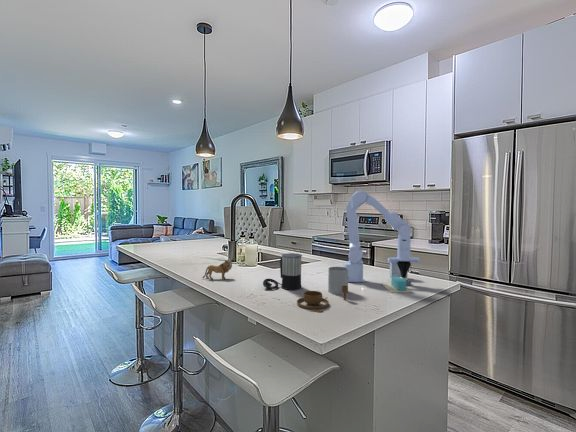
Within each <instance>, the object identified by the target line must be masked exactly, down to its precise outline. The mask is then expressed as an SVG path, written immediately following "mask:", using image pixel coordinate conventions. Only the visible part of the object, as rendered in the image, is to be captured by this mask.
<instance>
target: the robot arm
mask: <svg viewBox="0 0 576 432" xmlns="http://www.w3.org/2000/svg"><path fill="white" fill-rule="evenodd" d="M364 204H365V205H368V206H372V208H374V209H375V210H376V211H378V212H379V213H380V214H381V215H382V216H384V221H385V222H386V223H387V224H389V225H390V226H391V228H393V229H394V230H396V231H397V233H398V235H397V236H398V237H397V250H396V251H397V253H396V255H397V256H396V257H388V258H387V263H390V262H397V265H398V267H399V269H400V273H401V277H402V278H406V274H407V275H408V271H409V269H410V267H411V265H412V263H420V262H421V259H420V257H411V244H412V243H411V234H412V228H411V226H410V225H409V223H408V222H407V220H405V219H403V218H401V217H400V216H399V214H398V213H397V212H395V211H389V210H388V209H387V208H386V207H385V206H384V205H383V204H382V203H381V202H380V201H378V200H377V199H376V198H375V197H373V196H372V195H370V194H368V193H367V192H366V191H364V190H356V191H355V192H354V193H353V194H352V195H351V197H350V199H349V201H348V202H347V205H346V207H345V210H346V220H347V229H348V230H347V233H348V241H349V252H348V256H347V257H348V261H346V262H343V266H342V267H345V268H348V283H366V280H365V279H364V261H363V259H362V258H363V256H364V251H363V250H362V248H361V243H360V233H359V225H358V216H357V215H358V214H357V210H358V209H359V208H360V207H361V206H362V205H364Z"/></svg>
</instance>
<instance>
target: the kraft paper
mask: <svg viewBox="0 0 576 432" xmlns="http://www.w3.org/2000/svg"><path fill="white" fill-rule="evenodd" d="M382 286H383V287H384V288H385V289H386V290H388V291H389V292H390V293H412V291H411V290H410V289H408V288H407V287H406V291H398V290H397V289H395V288H394V287H393V286H391V284H382Z"/></svg>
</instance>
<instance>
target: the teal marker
mask: <svg viewBox="0 0 576 432" xmlns="http://www.w3.org/2000/svg"><path fill="white" fill-rule="evenodd" d="M390 279H391V280H390V281H391V284H390V285H391V286H393V287H394V288H395V289H397V290H398V291H406V288H407V285H406V281H405V280H403V279H401V278H400V277H392V278H390Z"/></svg>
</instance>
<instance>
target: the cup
mask: <svg viewBox="0 0 576 432" xmlns="http://www.w3.org/2000/svg"><path fill="white" fill-rule="evenodd" d="M327 276H328V278H327V279H328V280H327V281H328V284H327V285H328V286H327V288H328V290H327V291H328V293H329V294H331V295H344V293H342V286H348V287H349V282H348V268H345V267H343V266H330V267H328V275H327ZM346 294H349V291H348V292H347V293H346Z"/></svg>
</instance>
